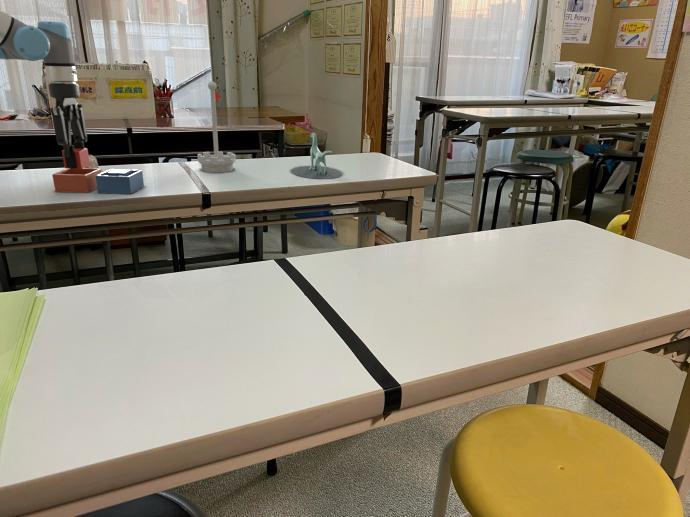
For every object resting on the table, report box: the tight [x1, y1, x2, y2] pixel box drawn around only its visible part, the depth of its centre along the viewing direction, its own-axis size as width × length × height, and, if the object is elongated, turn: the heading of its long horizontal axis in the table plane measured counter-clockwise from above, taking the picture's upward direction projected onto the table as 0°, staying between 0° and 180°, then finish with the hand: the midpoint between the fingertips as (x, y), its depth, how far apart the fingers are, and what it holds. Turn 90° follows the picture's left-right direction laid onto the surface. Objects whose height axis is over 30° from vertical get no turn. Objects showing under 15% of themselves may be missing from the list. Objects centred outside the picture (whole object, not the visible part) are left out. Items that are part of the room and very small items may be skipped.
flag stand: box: [197, 80, 236, 173], centre depth 179 cm, size 13×13×30 cm
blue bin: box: [96, 168, 145, 195], centre depth 152 cm, size 10×10×5 cm
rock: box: [85, 154, 105, 173], centre depth 165 cm, size 6×14×7 cm, turn 38°
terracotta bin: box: [51, 168, 103, 194], centre depth 153 cm, size 10×10×5 cm
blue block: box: [108, 168, 133, 176], centre depth 152 cm, size 5×5×5 cm
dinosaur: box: [290, 132, 343, 180], centre depth 182 cm, size 25×18×13 cm
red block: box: [61, 148, 90, 169], centre depth 150 cm, size 5×5×5 cm
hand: (77, 165), depth 151 cm, fingers closed on red block, 5 cm apart
